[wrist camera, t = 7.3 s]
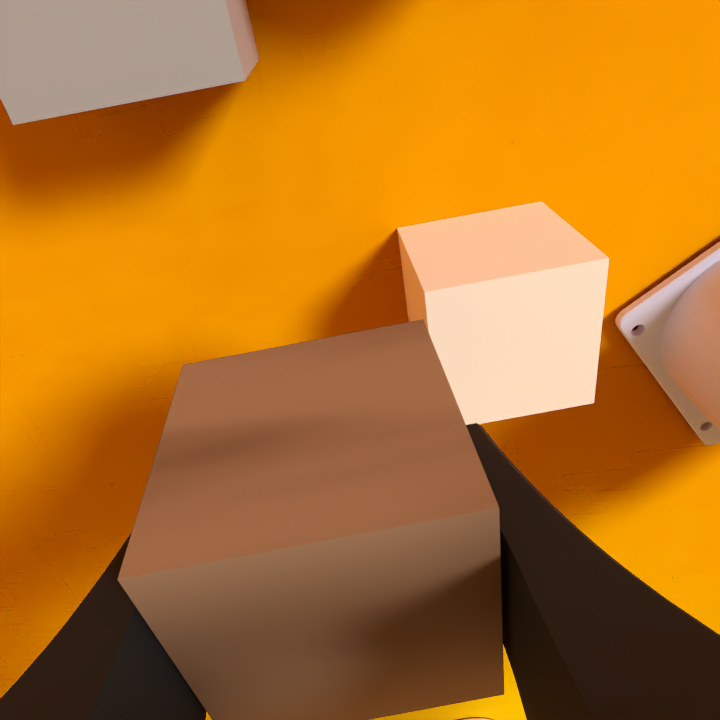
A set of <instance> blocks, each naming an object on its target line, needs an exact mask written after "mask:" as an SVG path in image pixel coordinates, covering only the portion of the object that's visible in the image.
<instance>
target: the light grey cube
mask: <svg viewBox="0 0 720 720" xmlns="http://www.w3.org/2000/svg"><path fill="white" fill-rule="evenodd" d="M258 60H259V55H258V50H257V46H256V42H255V37H254V33H253V29H252V24H251V20H250V16H249V11H248V7H247V3H246V0H0V99H1V101H2V103H3V105H4V107H5V109H6V111H7V113H8V115H9V117H10V119H11V122H12V124H13V125H17V124H22V123H27V122H32V121H37V120H43V119H48V118H53V117H58V116H63V115H69V114H74V113H79V112H84V111H90V110H95V109H100V108H105V107H110V106H116V105H121V104H126V103H131V102H136V101H142V100H147V99H152V98H157V97H163V96H168V95H173V94H178V93H183V92H189V91H194V90H199V89H204V88H209V87H215V86H220V85H225V84H230V83H236V82H241V81H245V80H246V79H247V77H248V76H249V74H250V73H251V71H252V70H253V68H254V66H255V65H256V63H257V62H258Z"/></svg>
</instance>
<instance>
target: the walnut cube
mask: <svg viewBox="0 0 720 720" xmlns="http://www.w3.org/2000/svg"><path fill="white" fill-rule="evenodd" d="M117 580H118V581H119V583H120V584H121V586H122V587H123V589H124V590H125V592H126V593H127V595H128V596H129V597H130V599H131V600H132V602H133V603H134V605H135V606H136V608H137V609H138V611H139V612H140V614H141V615H142V617H143V618H144V620H145V621H146V623H147V624H148V625H149V627H150V628H151V630H152V631H153V633H154V634H155V636H156V637H157V639H158V640H159V642H160V643H161V645H162V646H163V648H164V649H165V651H166V652H167V653H168V655H169V656H170V658H171V659H172V661H173V662H174V664H175V665H176V667H177V668H178V670H179V671H180V673H181V674H182V676H183V677H184V679H185V680H186V681H187V683H188V684H189V686H190V687H191V689H192V690H193V692H194V693H195V695H196V696H197V698H198V699H199V701H200V702H201V704H202V705H203V707H204V708H205V709H206V711H207V712H208V714H209V715H210V717H211V718H212V720H369V719H374V718H380V717H385V716H390V715H396V714H401V713H407V712H412V711H417V710H423V709H428V708H433V707H439V706H444V705H449V704H455V703H460V702H465V701H471V700H476V699H482V698H487V697H492V696H498V695H503V694H504V671H503V633H502V594H501V556H500V518H499V506H498V503H497V501H496V498H495V496H494V494H493V491H492V489H491V486H490V484H489V481H488V479H487V476H486V474H485V471H484V469H483V466H482V464H481V461H480V459H479V456H478V454H477V451H476V449H475V446H474V444H473V441H472V439H471V436H470V434H469V432H468V429H467V427H466V424H465V422H464V419H463V417H462V414H461V412H460V409H459V407H458V404H457V402H456V399H455V397H454V394H453V392H452V389H451V387H450V384H449V382H448V379H447V377H446V375H445V372H444V370H443V367H442V365H441V362H440V360H439V357H438V355H437V352H436V350H435V347H434V345H433V342H432V340H431V337H430V335H429V332H428V330H427V327H426V325H425V322H424V320H423V319H422V320H417V321H411V322H406V323H401V324H396V325H390V326H385V327H380V328H374V329H369V330H364V331H359V332H353V333H348V334H343V335H338V336H332V337H327V338H322V339H317V340H311V341H306V342H301V343H296V344H290V345H285V346H280V347H275V348H269V349H264V350H259V351H254V352H248V353H243V354H238V355H233V356H227V357H222V358H217V359H212V360H206V361H201V362H196V363H191V364H185V365H183V367H182V370H181V373H180V377H179V380H178V383H177V386H176V390H175V393H174V396H173V399H172V403H171V406H170V409H169V413H168V416H167V419H166V422H165V426H164V429H163V432H162V435H161V439H160V442H159V445H158V449H157V452H156V455H155V458H154V462H153V465H152V468H151V471H150V475H149V478H148V481H147V485H146V488H145V491H144V494H143V498H142V501H141V504H140V507H139V511H138V514H137V517H136V520H135V524H134V527H133V530H132V534H131V537H130V540H129V543H128V547H127V550H126V553H125V556H124V560H123V563H122V566H121V570H120V573H119V576H118V579H117Z"/></svg>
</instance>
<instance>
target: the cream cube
mask: <svg viewBox="0 0 720 720" xmlns="http://www.w3.org/2000/svg"><path fill="white" fill-rule="evenodd" d="M397 232H398V240H399V248H400V256H401V264H402V272H403V280H404V288H405V296H406V304H407V312H408V320H409V322H411V321H417V320H422V319H423V320H424V322H425V325H426V327H427V330H428V332H429V335H430V337H431V340H432V342H433V345H434V347H435V350H436V352H437V355H438V357H439V360H440V362H441V365H442V367H443V370H444V372H445V375H446V377H447V379H448V382H449V384H450V387H451V389H452V392H453V394H454V397H455V399H456V402H457V404H458V407H459V409H460V412H461V414H462V417H463V419H464V422H465V424H466V425H468V424H473V423H477V424H482V423H488V422H493V421H499V420H504V419H510V418H515V417H521V416H526V415H532V414H537V413H543V412H548V411H554V410H559V409H565V408H570V407H576V406H581V405H587V404H592V403H594V398H595V389H596V379H597V370H598V360H599V350H600V341H601V331H602V322H603V312H604V303H605V293H606V284H607V274H608V265H609V257H607V256H606V255H605V254H604V253H603V252H601V251H600V250H599V249H598V248H597V247H595V246H594V245H593V244H592V243H591V242H589V241H588V240H587V239H586V238H585V237H583V236H582V235H581V234H580V233H579V232H577V231H576V230H575V229H574V228H573V227H571V226H570V225H569V224H568V223H567V222H565V221H564V220H563V219H562V218H561V217H560V216H558V215H557V214H556V213H555V212H554V211H552V210H551V209H550V208H549V207H548V206H546V205H545V204H544V203H543V202H542V201H541V202H535V203H530V204H524V205H519V206H514V207H508V208H503V209H498V210H492V211H487V212H481V213H476V214H471V215H465V216H460V217H455V218H449V219H444V220H438V221H433V222H428V223H422V224H417V225H412V226H406V227H401V228H397Z"/></svg>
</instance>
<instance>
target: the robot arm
mask: <svg viewBox="0 0 720 720" xmlns="http://www.w3.org/2000/svg"><path fill="white" fill-rule="evenodd" d="M615 324H616V326H617V328H618V329H619V330H620V332H621V333H622V334H623V336H624V337H625V338H626V340H627V341H628V342H629V344H630V345H631V346H632V348H633V349H634V351H635V352H636V353H637V355H638V356H639V357H640V359H641V360H642V361H643V363H644V364H645V365H646V367H647V368H648V370H649V371H650V372H651V374H652V375H653V376H654V378H655V379H656V380H657V382H658V383H659V384H660V386H661V387H662V388H663V390H664V391H665V393H666V394H667V395H668V397H669V398H670V399H671V401H672V402H673V403H674V405H675V406H676V407H677V409H678V410H679V412H680V413H681V414H682V416H683V417H684V418H685V420H686V421H687V422H688V424H689V425H690V426H691V428H692V429H693V430H694V432H695V433H696V435H697V436H698V437H699V439H700V440H701V441H702V442H703V443H704V444H705V445H715V444H717V443H719V442H720V241H719V242H718V243H717V244H715V245H714V246H712V247H711V248H709V249H708V250H707V251H705V252H704V253H702V254H701V255H699V256H698V257H697V258H695V259H694V260H692V261H691V262H690V263H688V264H687V265H685V266H684V267H682V268H681V269H680V270H678V271H677V272H675V273H674V274H673V275H671V276H670V277H668V278H667V279H665V280H664V281H663V282H661V283H660V284H658V285H657V286H655V287H654V288H653V289H651V290H650V291H648V292H647V293H646V294H644V295H643V296H641V297H640V298H638V299H637V300H636V301H634V302H633V303H631V304H630V305H629V306H627V307H626V308H624V309H623V310H622V311H621V312H619V313H618V315H617V317H616V319H615ZM637 325H639V327H638V328H637V329H636V330H634V331H632V329H633V328H634V327H635V326H637ZM466 427H467V429H468V432H469V434H470V436H471V439H472V441H473V444H474V446H475V449H476V451H477V454H478V456H479V459H480V461H481V464H482V466H483V469H484V471H485V474H486V476H487V479H488V481H489V484H490V486H491V489H492V491H493V494H494V496H495V498H496V501H497V503H498V506H499V518H500V556H501V594H502V633H503V645H504V647H505V650H506V653H507V656H508V659H509V661H510V664H511V667H512V670H513V673H514V676H515V680H516V683H517V687H518V690H519V694H520V697H521V701H522V704H523V708H524V711H525V715H526V718H527V720H720V635H719V634H717V633H716V632H714V631H713V630H712V629H710V628H709V627H707V626H706V625H704V624H703V623H701V622H700V621H698V620H697V619H695V618H694V617H692V616H691V615H689V614H688V613H686V612H685V611H683V610H682V609H680V608H679V607H677V606H676V605H674V604H673V603H672V602H670V601H669V600H667V599H666V598H664V597H663V596H661V595H660V594H659V593H657V592H656V591H655V590H653V589H652V588H651V587H649V586H648V585H647V584H645V583H644V582H643V581H641V580H640V579H639V578H637V577H636V576H635V575H633V574H632V573H631V572H630V571H628V570H627V569H626V568H624V567H623V566H622V565H621V564H619V563H618V562H617V561H616V560H614V559H613V558H612V557H611V556H609V555H608V554H607V553H606V552H605V551H603V550H602V549H601V548H600V547H599V546H597V545H596V544H595V543H594V542H593V541H592V540H590V539H589V538H588V537H587V536H586V535H585V534H584V533H582V532H581V531H580V530H579V529H578V528H577V527H576V526H575V525H574V524H572V523H571V522H570V521H569V520H568V519H567V518H566V517H565V516H564V515H563V514H562V513H561V512H559V511H558V510H557V509H556V508H555V507H554V506H553V505H552V504H551V503H550V502H549V501H548V500H547V499H546V498H545V497H544V496H543V495H542V494H541V493H540V492H539V491H538V490H537V489H536V488H535V487H534V486H533V485H532V484H531V483H530V482H529V481H528V480H527V479H526V478H525V476H524V475H523V474H522V473H521V472H520V471H519V470H518V469H517V468H516V467H515V466H514V464H513V463H512V462H511V461H510V460H509V459H508V458H507V457H506V455H505V454H504V453H503V452H502V451H501V450H500V448H499V447H498V446H497V445H496V444H495V442H494V441H493V440H492V439H491V437H490V436H489V435H488V434H487V432H486V431H485V430H484V428H483V427H482V426H481V425H479V424H477V423H473V424H468V425H466ZM131 534H132V533H131ZM131 534H130V535H129V537H128V538H127V540H126V541H125V543H124V544H123V546H122V547H121V549H120V550H119V551H118V553H117V554H116V556H115V557H114V559H113V560H112V562H111V563H110V564H109V566H108V567H107V569H106V570H105V572H104V573H103V574H102V576H101V577H100V579H99V580H98V581H97V583H96V584H95V585H94V587H93V588H92V589H91V591H90V592H89V593H88V595H87V596H86V597H85V599H84V600H83V601H82V603H81V604H80V605H79V607H78V608H77V609H76V611H75V612H74V613H73V614H72V616H71V617H70V618H69V620H68V621H67V622H66V624H65V625H64V626H63V627H62V629H61V630H60V631H59V632H58V634H57V635H56V636H55V637H54V639H53V640H52V641H51V642H50V643H49V645H48V646H47V647H46V648H45V649H44V651H43V652H42V653H41V654H40V655H39V656H38V658H37V659H36V660H35V661H34V662H33V663H32V664H31V666H30V667H29V668H28V669H27V670H26V671H25V672H24V674H23V675H22V676H21V677H20V678H19V679H18V680H17V682H16V683H15V684H14V685H13V686H12V687H11V688H10V689H9V690H8V691H7V692H6V694H5V695H4V696H3V697H2V698H1V699H0V720H205V718H206V709H205V708H204V707H203V705H202V704H201V702H200V701H199V699H198V698H197V696H196V695H195V693H194V692H193V690H192V689H191V687H190V686H189V684H188V683H187V681H186V680H185V679H184V677H183V676H182V674H181V673H180V671H179V670H178V668H177V667H176V665H175V664H174V662H173V661H172V659H171V658H170V656H169V655H168V653H167V652H166V651H165V649H164V648H163V646H162V645H161V643H160V642H159V640H158V639H157V637H156V636H155V634H154V633H153V631H152V630H151V628H150V627H149V625H148V624H147V623H146V621H145V620H144V618H143V617H142V615H141V614H140V612H139V611H138V609H137V608H136V606H135V605H134V603H133V602H132V600H131V599H130V597H129V596H128V595H127V593H126V592H125V590H124V589H123V587H122V586H121V584H120V583H119V581H118V580H117V579H118V576H119V573H120V570H121V566H122V563H123V560H124V556H125V553H126V550H127V547H128V543H129V540H130V537H131Z"/></svg>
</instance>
